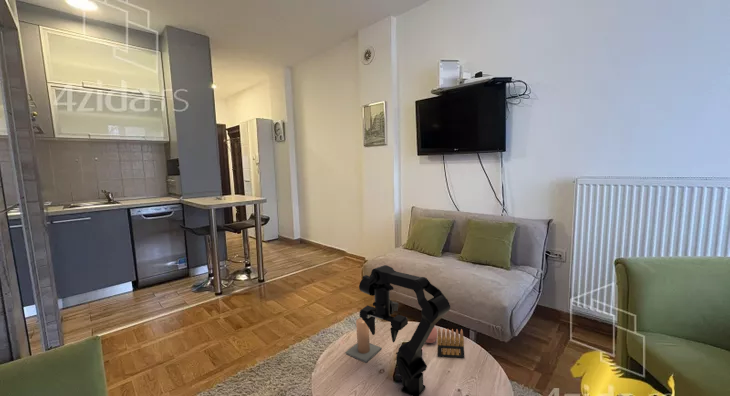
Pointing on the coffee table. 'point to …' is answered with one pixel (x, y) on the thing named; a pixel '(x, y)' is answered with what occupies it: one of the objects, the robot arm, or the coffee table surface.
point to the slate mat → (363, 356)
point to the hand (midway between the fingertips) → (383, 338)
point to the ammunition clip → (445, 344)
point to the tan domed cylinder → (362, 336)
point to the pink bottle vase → (432, 336)
